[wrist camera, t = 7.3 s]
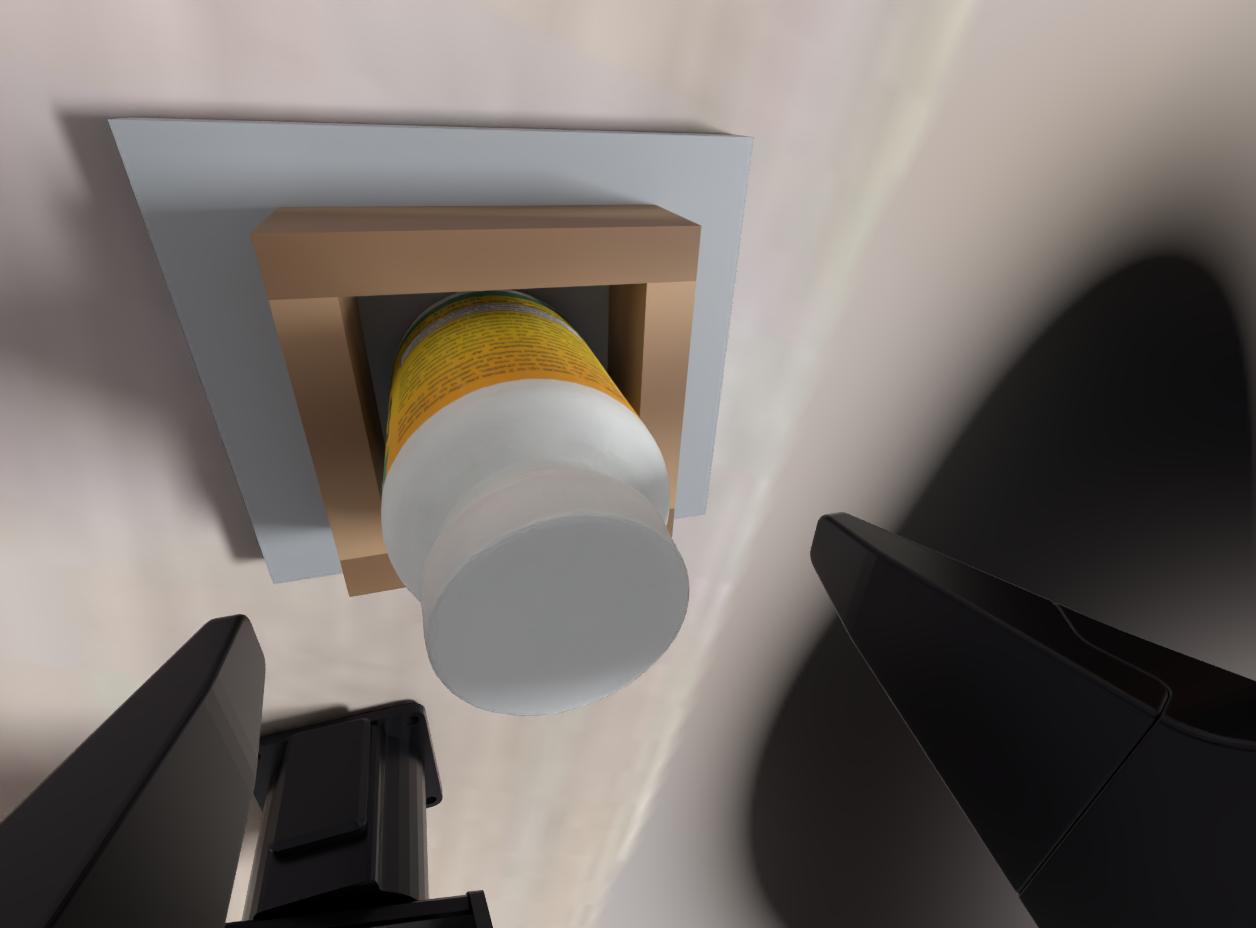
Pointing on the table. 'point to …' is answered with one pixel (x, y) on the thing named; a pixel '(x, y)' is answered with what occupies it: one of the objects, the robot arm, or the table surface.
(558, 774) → the table surface
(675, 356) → the collar
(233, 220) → the board
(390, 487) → the supplement bottle
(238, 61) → the table surface
